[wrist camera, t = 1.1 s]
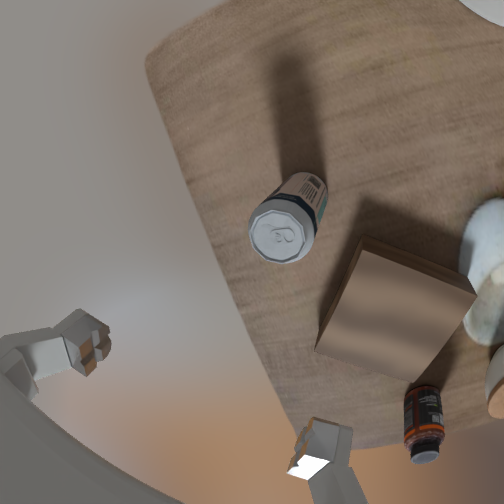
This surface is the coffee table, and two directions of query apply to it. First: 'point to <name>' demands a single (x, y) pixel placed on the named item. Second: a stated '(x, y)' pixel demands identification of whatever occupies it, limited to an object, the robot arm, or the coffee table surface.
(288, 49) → the coffee table surface
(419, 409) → the supplement bottle
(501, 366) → the lidded jar
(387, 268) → the walnut block
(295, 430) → the coffee table surface
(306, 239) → the beer can
